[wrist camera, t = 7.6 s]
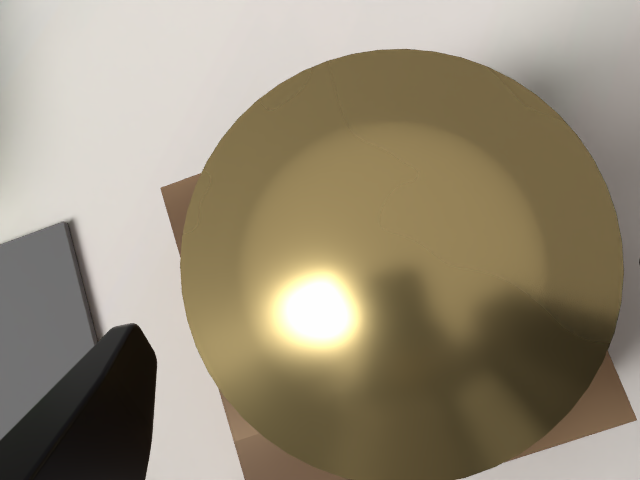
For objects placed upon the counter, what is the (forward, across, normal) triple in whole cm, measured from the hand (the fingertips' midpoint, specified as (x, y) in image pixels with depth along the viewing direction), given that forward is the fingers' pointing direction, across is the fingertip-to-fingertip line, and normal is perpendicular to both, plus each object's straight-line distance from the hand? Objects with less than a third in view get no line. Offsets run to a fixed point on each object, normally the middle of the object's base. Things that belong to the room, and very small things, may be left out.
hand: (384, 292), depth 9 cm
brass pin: (+8, 0, +7) cm, 10 cm away
